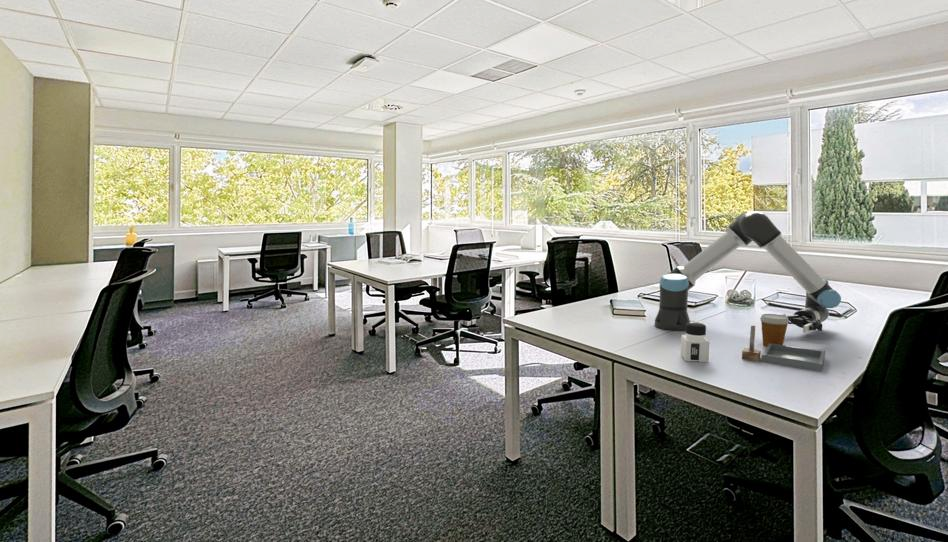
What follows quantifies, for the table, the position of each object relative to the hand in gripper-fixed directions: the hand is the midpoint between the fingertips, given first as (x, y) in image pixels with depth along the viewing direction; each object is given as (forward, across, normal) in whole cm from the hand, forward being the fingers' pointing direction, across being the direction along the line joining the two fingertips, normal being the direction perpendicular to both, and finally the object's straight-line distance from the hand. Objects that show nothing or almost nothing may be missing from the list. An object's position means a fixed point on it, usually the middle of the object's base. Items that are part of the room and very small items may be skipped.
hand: (784, 326), depth 188 cm
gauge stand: (+31, -2, -7) cm, 32 cm away
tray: (+21, -11, -7) cm, 25 cm away
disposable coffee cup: (+10, 0, -7) cm, 12 cm away
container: (+47, +11, -7) cm, 48 cm away
